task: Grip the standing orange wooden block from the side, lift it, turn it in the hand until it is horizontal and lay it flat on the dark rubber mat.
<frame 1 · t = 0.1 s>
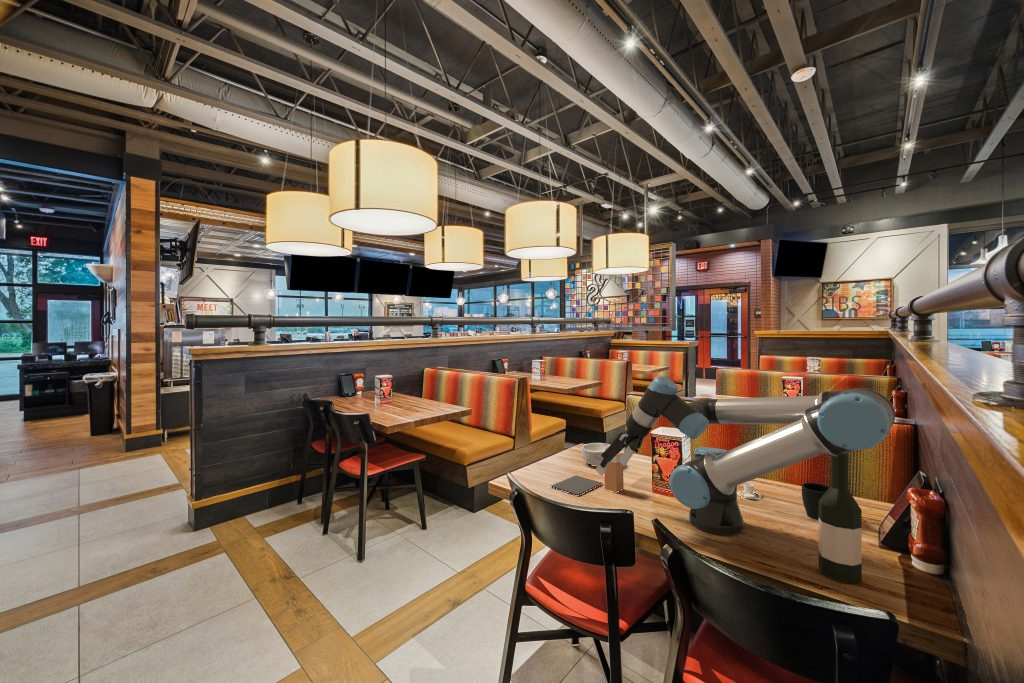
hand: (610, 467, 141), 14 cm above the table, tool tilted 35°, fingers open, 13 cm apart
orange wooden block: (614, 489, 159), on the table
mat: (577, 486, 164), on the table
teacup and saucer: (740, 497, 151), on the table
grey bowl: (598, 464, 190), on the table
wine bottle: (839, 575, 102), on the table, touching arm
mug: (824, 519, 131), on the table
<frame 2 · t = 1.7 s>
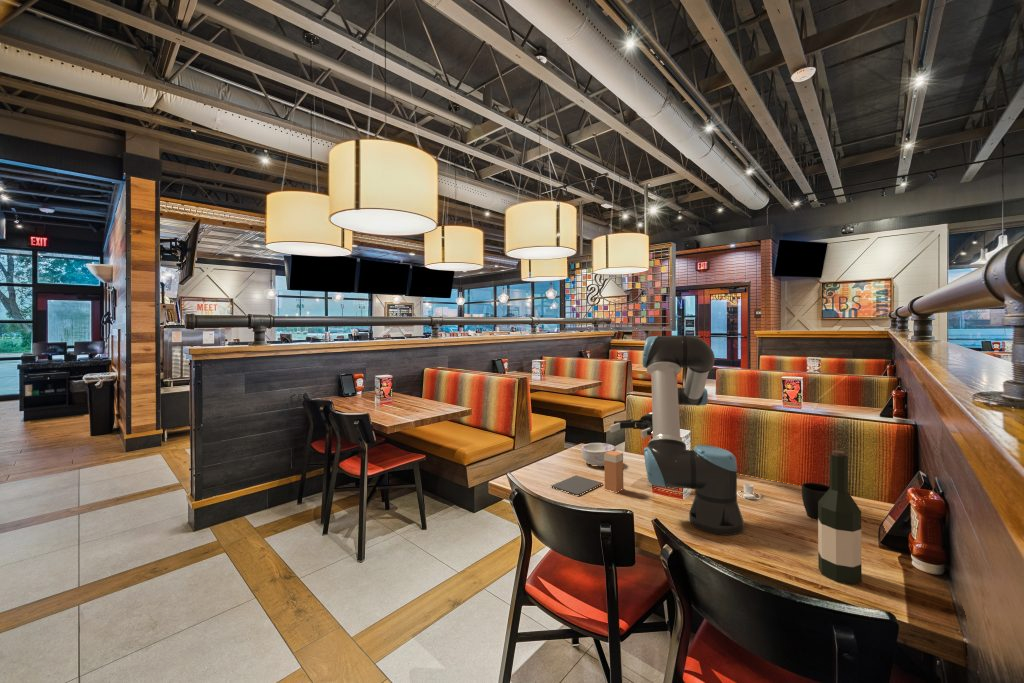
hand: (625, 431, 165), 20 cm above the table, tool horizontal, fingers open, 13 cm apart
wine bottle: (839, 575, 102), on the table
everything else where it was.
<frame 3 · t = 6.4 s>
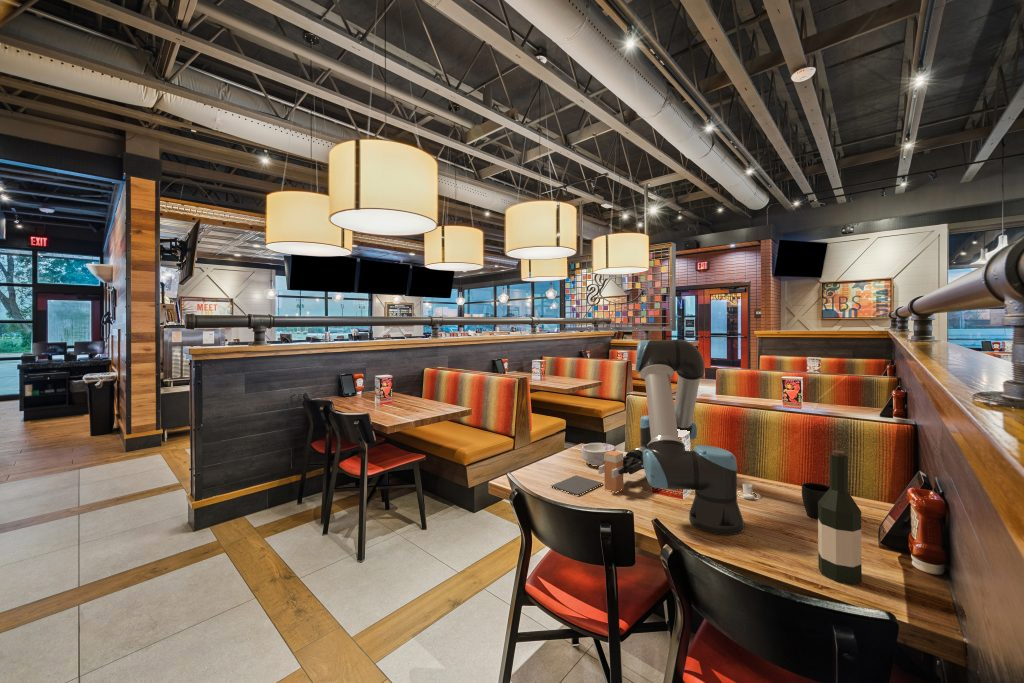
hand: (606, 472, 155), 8 cm above the table, tool horizontal, fingers closed on orange wooden block, 5 cm apart
orange wooden block: (614, 489, 159), on the table, touching gripper
everything else where it was.
when the fingers open (2 cm above the table, at t = 13.2 s): orange wooden block drops 4 cm, resting on mat.
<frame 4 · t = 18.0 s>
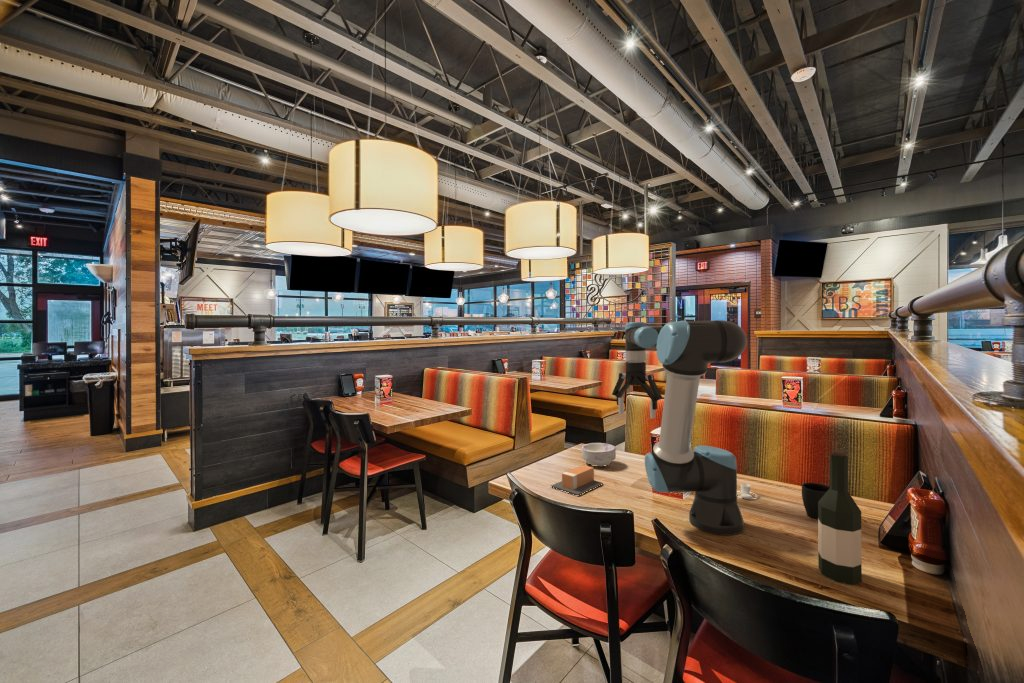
hand: (636, 415, 165), 27 cm above the table, tool pointing down, fingers open, 13 cm apart
orange wooden block: (588, 472, 169), point 3 cm above the table, tilted 90°, touching mat
at the end: orange wooden block tilted 90°; orange wooden block inside the target area on the mat (8.1 cm from its centre), point 3.3 cm above the mat's base; the gripper is holding nothing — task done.
